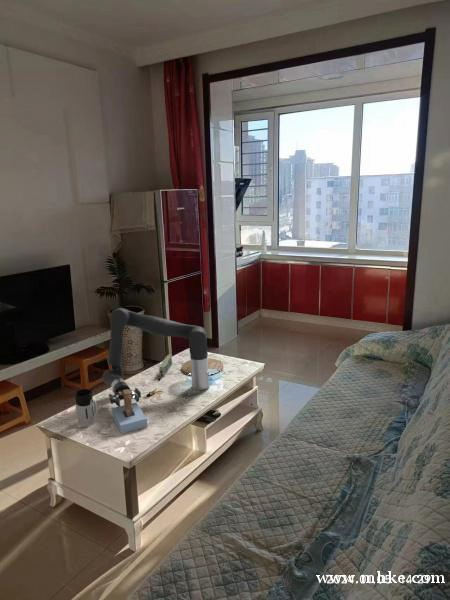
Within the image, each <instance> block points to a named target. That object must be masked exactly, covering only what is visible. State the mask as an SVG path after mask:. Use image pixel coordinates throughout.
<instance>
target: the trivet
mask: <svg viewBox="0 0 450 600" xmlns="http://www.w3.org/2000/svg"><path fill="white" fill-rule="evenodd" d="M208 369H217V371H220V370H221V372H222V371H223V369H224V363H223V362H222V361H221V360H219V359H216V358H212V357H208ZM181 372H183V374H185V375H187V374H189V373H191V359H189V360H187V361H185V362H184V363H182V365H181Z"/></svg>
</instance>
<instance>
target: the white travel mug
mask: <svg viewBox="0 0 450 600" xmlns="http://www.w3.org/2000/svg"><path fill="white" fill-rule="evenodd" d="M74 398H75V409H76V410H75V411H76V418H77V422H76V425H77V426H78V427H81V428H88V427H90V426H93V425H95V424H96V423H97V420H98V419H97V418H96V416H97V414H98V403H97V401H96V400H95V399H94V398H93V391H92V389H89V388H83V389H79V390H77V391H75V392H74Z"/></svg>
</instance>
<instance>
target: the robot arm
mask: <svg viewBox="0 0 450 600" xmlns="http://www.w3.org/2000/svg"><path fill="white" fill-rule="evenodd" d="M109 315H110V316H109V321H110V322H109V324H110V338H109V339H110V341H109V350H108V356H107V357H108V358H107V364H108V365H109V366H112V367H115V368H116V369H107V370H105V371H104V372H103V373H102V381H103V383H104V384H105V385H107V386H108V387H110V388H111V392H112V394H111V393H109V394H108V399H109V402H110V404H111V405H113V404H115V405H116V407H119V406H121V401H122V400H123V401H124V397H123V390H126V389H129V391H130V392H131V400H135V403H138V402H139V401H140V398H141V397H142V393H141V391H140V390H139V388H138V387H136V388H134V390H132V389H131V388H130V387H129V385H128V384H127V381H125V379H124V371H123V353H124V351H123V350H124V340H123V339H124V331H125V327H126V326H128V327H135V328H137V329H140V330H142V331H144V332H147V333H149V334H152V335H156V336H161V337H165V338H167V337H179V338H184V339H187V340H188V346H189V347H188V348H189V357H190V359H189V360H191V388H192V389H193V390H195V391H204V390H208V389H210V376H209V372H208V358H209V356H208V338H207V336H208V334H207V333H208V332H207V330H206V329H205V328H204V327H202V326H200V325H199V326H198V325H194V324H193V325H191V324H185V323H181V322H177V321H174V320H169V319H166V318H163V317H159V316H153V315H147V314H142V313H137V312H135V311H131V310H129V309H127V308H122V307H118V308H115V309H113V310H112V312H110V314H109Z"/></svg>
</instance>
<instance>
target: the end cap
mask: <svg viewBox="0 0 450 600" xmlns="http://www.w3.org/2000/svg"><path fill="white" fill-rule="evenodd" d="M132 412H133V416H130V417H125V407H124V404H123V405H120V406H115V407H111V415H112V417H113V420H114V422H115V424H116V426H117V428H118V430H119V432H120V434H125V433H129V432H132V431H135V430H139V429H140V430H141V429H143V428H147V427H148V418H147V417H146V415H145V414H144V412H143V410H142V409H141V408H140V406H139V405H138V402H133V403H132Z"/></svg>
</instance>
